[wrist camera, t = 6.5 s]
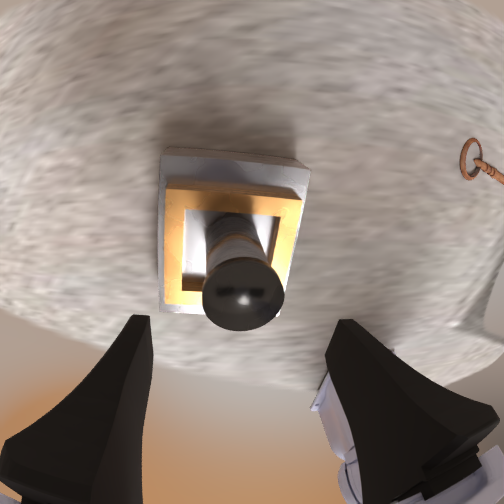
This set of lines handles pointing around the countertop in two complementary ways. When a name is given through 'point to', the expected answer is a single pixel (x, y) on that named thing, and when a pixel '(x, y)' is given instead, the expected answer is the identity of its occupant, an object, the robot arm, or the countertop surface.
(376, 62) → the countertop surface
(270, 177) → the chuck block
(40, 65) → the countertop surface
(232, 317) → the peg
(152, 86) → the countertop surface
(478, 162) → the key
